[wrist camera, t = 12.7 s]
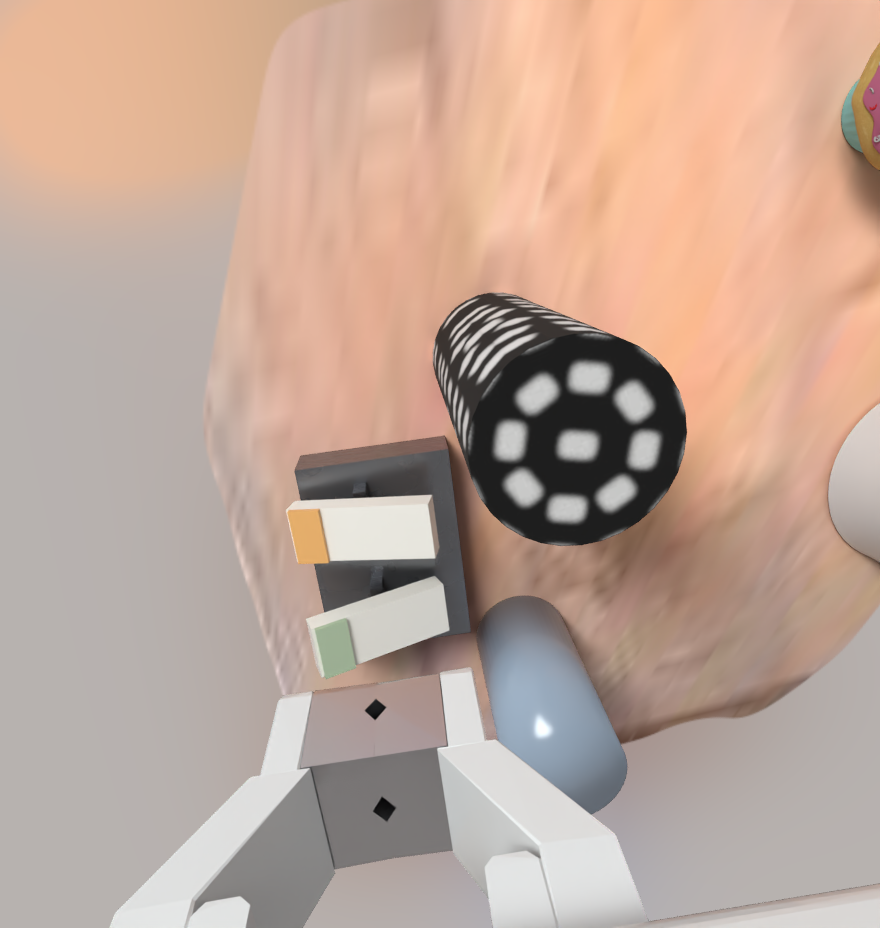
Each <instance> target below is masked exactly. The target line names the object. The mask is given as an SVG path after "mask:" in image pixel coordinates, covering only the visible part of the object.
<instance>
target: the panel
mask: <svg viewBox="0 0 880 928" xmlns="http://www.w3.org/2000/svg"><path fill="white" fill-rule="evenodd" d="M295 475H296V480H297V485H298V489H299V494H300V499H301V501H305V500H327V499H349V498H372V497H394V496H417V495H432V496H433V504H434V511H435V518H436V526H437V533H438V541H439V550H438V553H437V555H436V558H431V559H389V560H346V561H330V562H329V563H317V564H314V565H315V570H316V575H317V580H318V584H319V589H320V594H321V599H322V603H323V608H324V613H325V612H328V611H331V610H334V609H337V608H340V607H343V606H346V605H349V604H352V603H355V602H358V601H361V600H364V599H367V598H370V597H373V596H376V595H379V594H382V593H385V592H388V591H391V590H394V589H397V588H400V587H403V586H406V585H409V584H412V583H415V582H418V581H421V580H424V579H427V578H430V577H433V576H435V577H436V578H437V579H438V580H439V581H440V582H441V583H442V584H443V587H444V594H445V601H446V609H447V616H448V623H449V631H447V632H444V633H441V634H438V635H436V636H433V637H430V638H435V637H442V636H448V635H455V634H462V633H469V632H471V629H470V621H469V613H468V605H467V597H466V589H465V581H464V572H463V564H462V556H461V548H460V540H459V532H458V524H457V516H456V508H455V500H454V491H453V483H452V475H451V467H450V459H449V451H448V446H447V443H446V439H445V436H440V437H433V438H426V439H419V440H411V441H404V442H397V443H390V444H382V445H375V446H368V447H361V448H354V449H346V450H339V451H332V452H325V453H318V454H310V455H303V456H300V459H299V461H298V463H297V466H296V468H295Z"/></svg>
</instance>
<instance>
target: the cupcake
mask: <svg viewBox="0 0 880 928" xmlns="http://www.w3.org/2000/svg"><path fill="white" fill-rule="evenodd" d="M841 123H842V130H843V133H844V136H845V138H846V140H847V141H848V143H849V144H850V145H851V146H852V147H853V148H854V149H856V150H857V151H860V152H862V153H864V155H865V157H866V159H867V160H868V161H869V163H870V164H871V165H872V166H873V167H874V168H876V169H878V170H880V43H879V44H878V46H877V47H876V49H875V50H874V52H873V53H872V55H871V57H870V59H869V61H868V63H867V65H866V67H865V69H864V71H863V73H862V75H861V78H860V79H859V80H858V81H857V82H856V83H855V84H854V86H853V87H852V89H851V90H850V92H849V93H848V95H847V97H846V100H845V102H844V105H843V109H842V117H841Z"/></svg>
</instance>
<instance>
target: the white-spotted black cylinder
mask: <svg viewBox="0 0 880 928" xmlns="http://www.w3.org/2000/svg"><path fill="white" fill-rule="evenodd" d="M433 366H434V370H435V375H436V378H437V381H438V384H439V387H440V390H441V392H442V395H443V398H444V401H445V404H446V407H447V410H448V412H449V415H450V418H451V421H452V424H453V427H454V429H455V432H456V435H457V438H458V441H459V444H460V447H461V449H462V452H463V455H464V458H465V461H466V464H467V466H468V469H469V472H470V475H471V478H472V480H473V483H474V485H475V487H476V490H477V492H478V494H479V497H480V498H481V500H482V501H483V502H484V504H485V505H486V507H487V508H488V509H489V511H490V512H491V514H493V515H494V516H495V517H496V518H497V519H498V520H499V521H500V522H501V523H502V524H504V525H505V526H506V527H507V528H509V529H511V530H512V531H514V532H516V533H518V534H519V535H521V536H523V537H525V538H528V539H531V540H534V541H537V542H540V543H545V544H552V545H558V546H571V545H584V544H589V543H593V542H598V541H602V540H604V539H607V538H609V537H612V536H614V535H617V534H619V533H621V532H623V531H624V530H626V529H628V528H629V527H631V526H633V525H634V524H636V523H637V522H639V521H640V520H641V519H642V518H643V517H644V516H646V515H647V514H648V513H649V512H650V511H651V510H652V509H654V508H655V506H656V505H657V504H658V503H659V501H660V500H661V499H662V498H663V496H664V495H665V494H666V493H667V491H668V490H669V488H670V486H671V484H672V482H673V480H674V479H675V477H676V475H677V473H678V470H679V467H680V464H681V461H682V458H683V455H684V450H685V442H686V434H687V429H686V415H685V409H684V406H683V402H682V399H681V395H680V392H679V390H678V388H677V387H676V385H675V383H674V381H673V379H672V377H671V376H670V374H669V373H668V372H667V370H666V369H665V368H664V367H663V366H662V365H661V364H660V362H659V361H658V360H657V359H656V358H655V357H653V356H652V355H651V354H649V353H648V352H646V351H645V350H644V349H642V348H641V347H639V346H638V345H635V344H633V343H631V342H628V341H626V340H624V339H621V338H619V337H616V336H614V335H612V334H609V333H607V332H604V331H602V330H599V329H597V328H594V327H592V326H589V325H587V324H585V323H582V322H580V321H577V320H575V319H572V318H570V317H567V316H565V315H562V314H560V313H558V312H555V311H553V310H550V309H548V308H545V307H543V306H540V305H538V304H535V303H533V302H531V301H528V300H526V299H523V298H521V297H518V296H516V295H512V294H507V293H487V294H482V295H478V296H475V297H473V298H471V299H469V300H466V301H465V302H463V303H462V304H461V305H459V306H458V307H456V308H455V309H454V310H453V311H452V312H451V313H450V314H449V315H448V316H447V318H446V319H445V321H444V322H443V324H442V325H441V327H440V329H439V332H438V334H437V337H436V339H435V344H434V349H433Z"/></svg>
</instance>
